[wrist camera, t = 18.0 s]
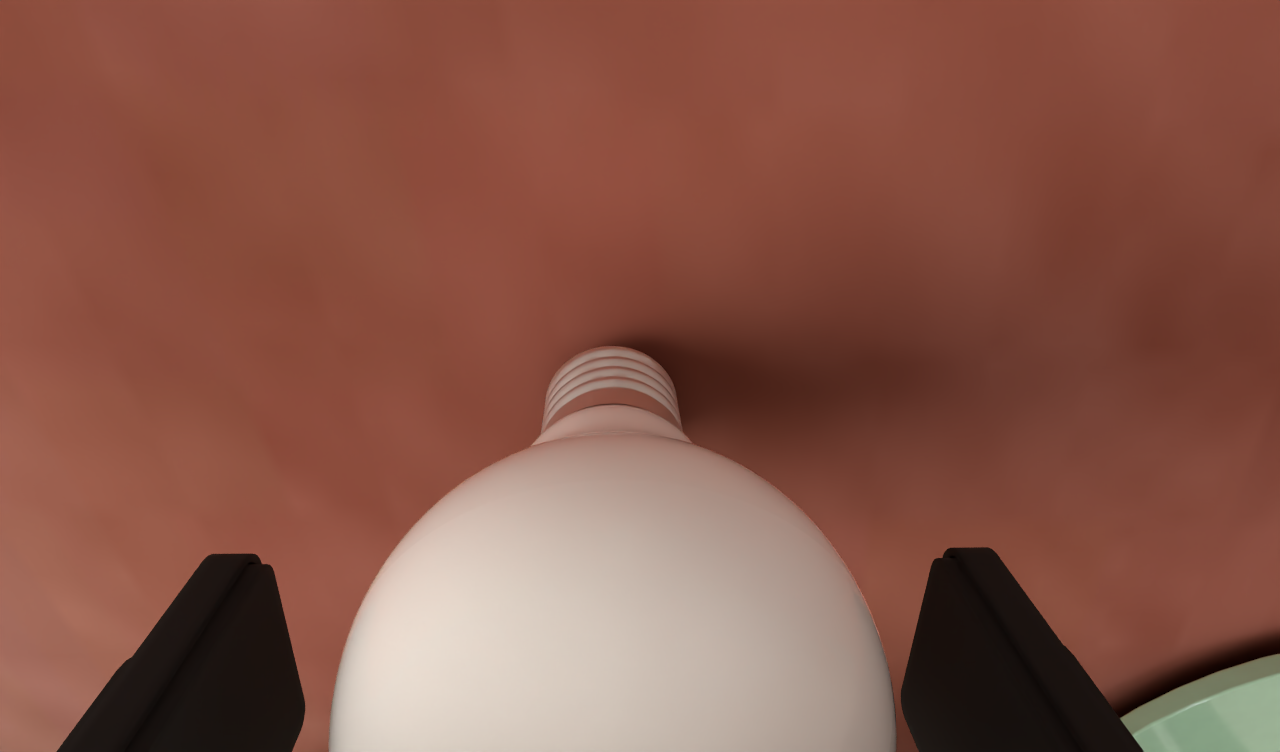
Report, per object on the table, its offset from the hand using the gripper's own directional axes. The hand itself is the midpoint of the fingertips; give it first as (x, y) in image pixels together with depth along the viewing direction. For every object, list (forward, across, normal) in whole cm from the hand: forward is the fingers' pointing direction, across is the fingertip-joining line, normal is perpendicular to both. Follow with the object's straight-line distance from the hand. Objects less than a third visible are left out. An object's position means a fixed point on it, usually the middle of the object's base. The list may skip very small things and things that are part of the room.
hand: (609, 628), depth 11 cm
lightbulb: (+6, 0, -1) cm, 6 cm away
